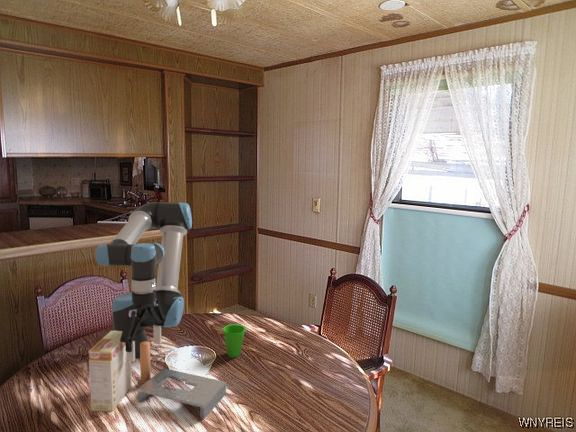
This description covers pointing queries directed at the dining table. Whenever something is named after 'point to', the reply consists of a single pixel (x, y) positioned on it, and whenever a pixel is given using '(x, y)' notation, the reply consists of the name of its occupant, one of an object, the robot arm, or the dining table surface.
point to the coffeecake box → (109, 372)
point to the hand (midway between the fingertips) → (144, 351)
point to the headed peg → (144, 363)
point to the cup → (234, 339)
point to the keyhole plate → (201, 395)
